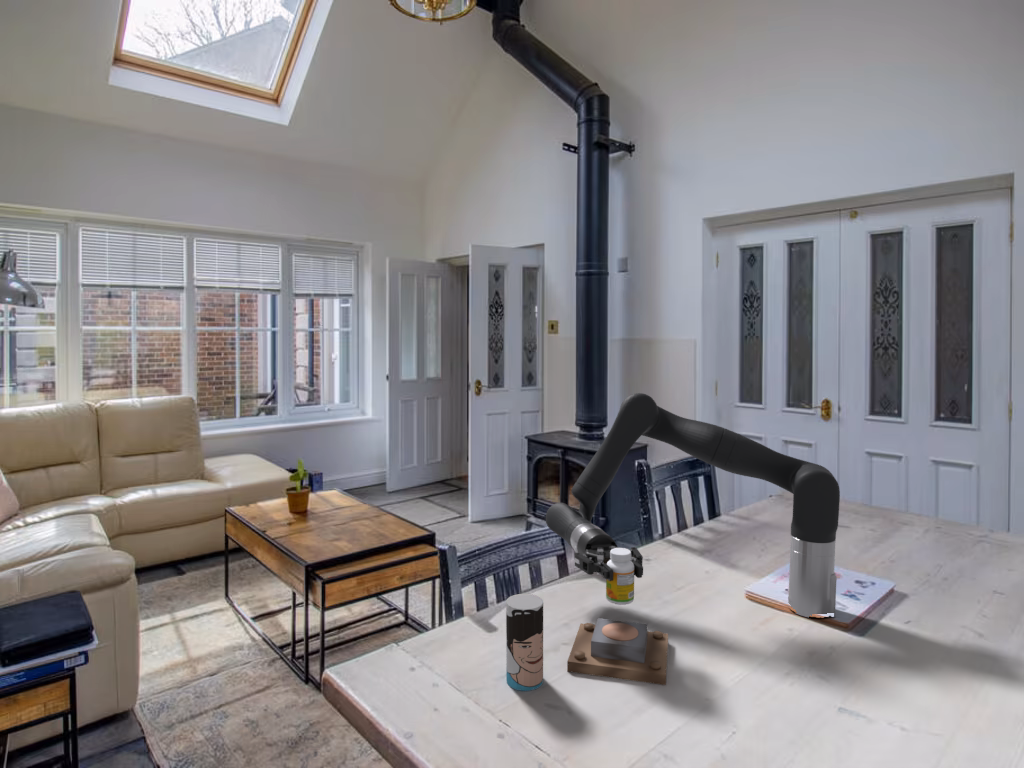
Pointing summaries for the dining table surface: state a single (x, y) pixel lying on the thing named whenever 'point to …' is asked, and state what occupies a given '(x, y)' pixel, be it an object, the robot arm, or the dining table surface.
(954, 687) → the dining table surface
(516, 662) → the printed can
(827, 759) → the dining table surface
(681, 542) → the dining table surface
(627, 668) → the plinth
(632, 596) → the supplement bottle
